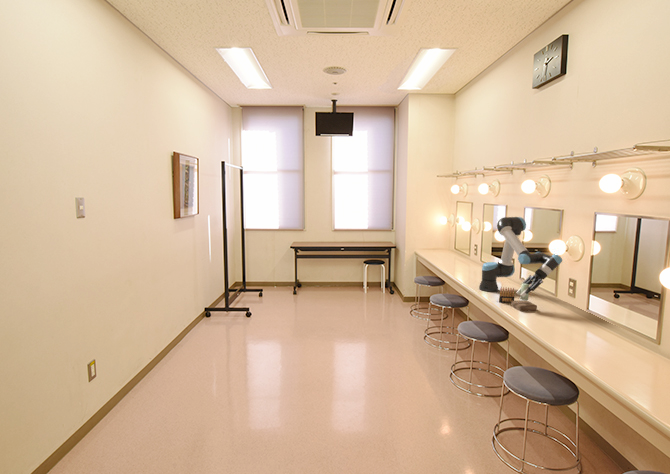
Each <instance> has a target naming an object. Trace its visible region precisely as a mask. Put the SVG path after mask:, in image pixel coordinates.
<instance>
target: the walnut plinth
mask: <svg viewBox="0 0 670 474" xmlns="http://www.w3.org/2000/svg"><path fill="white" fill-rule="evenodd" d="M510 307H512V308H514V309H515V310H517V311H519V312H537V311H538V310H537V309H538V305H537V304H535V303H533V302H531V301H530V300H522V299H521V300H514V301H511V303H510Z"/></svg>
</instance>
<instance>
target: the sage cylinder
mask: <svg viewBox="0 0 670 474" xmlns="http://www.w3.org/2000/svg"><path fill="white" fill-rule="evenodd" d="M522 283H523V282H522ZM522 283H521V286H520V288H521V294H522V293H523V292H524V291H525V290H526V289H527V288H528V287H529V286H530V285H529V284H524V283H523V284H522ZM529 294H530V292H529V293H528V294H526V295H525V296H524V297H522V296H521V295H520V300H521V301H522V300H527V301H529Z"/></svg>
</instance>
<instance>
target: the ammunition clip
mask: <svg viewBox="0 0 670 474" xmlns="http://www.w3.org/2000/svg"><path fill="white" fill-rule="evenodd" d="M511 301H515V287H508V288H507V287H503V288H502V286H501V287H500V289H499V298H498V303H500V304H511Z"/></svg>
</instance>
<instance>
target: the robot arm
mask: <svg viewBox="0 0 670 474" xmlns="http://www.w3.org/2000/svg"><path fill="white" fill-rule="evenodd" d="M526 227H527V222H526V221H525V218H523V217H520V216H511V217H510V216H506V217H505V216H504V217H502V218H500V219H499V220H498V221H497V223H496V229H497V231H498V233H499V234H500V235H501V236H503V237H504V239H505V240H504V244H503V248H502V252H501V258H500V259H498V261H497V262H494V261H487V262H484V263H483V264H482V267H481V281H480V283H479V287H478V289H479V290H480V291H481V292H482V291H483V292H488V293H495V292H496V293H497V292H498V291H499V286H498V283H497V278H510V277H511V276H514V273H515V271H516V269H515V265H514V263H513V262H512V261H513V258H514V253H516V255H517V256H518V257H517V260H518V263H519V264H521V265H536V264H537V265H538V264H539V265H540V264H542V265H540V267H538V269H537V270H535V271H534V274H533V275H531V274H530V275H528V277H527V278H526V279H525V280H524V281H522V283H521V284H523V283H524V284H529V287H528V288H527V289H526V290H525V291H524V292H523V293H522V294H521V287H519V289H518V290H517V291H516V292H515V293H516V294H517V295H518V296H520V297H521V296H522V297H524V296H525V295H526V294H528V293H529V294H530V292H534V291H535V290H536V289H537V288H538V287H539V286H540V285H541V284H543V283H544V281H543V280H545V279H546V278H547V277H548V276H549V275H550V274H551V273H552V272H554V270H556V268H558V267H559V266H560V264H562V263H563V259H562V257H561V256H560V255H558V254H557V255H555V254H556V253H553V254H552V255H549V254H546V253H544V252H541V251H536V252H534V253H530V251H529V250H528V249H527V248H526V246H525V245H524V244H523V242H522V241H521V240H520V239H519V236H520V235H522V232H524V231H526Z"/></svg>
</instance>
